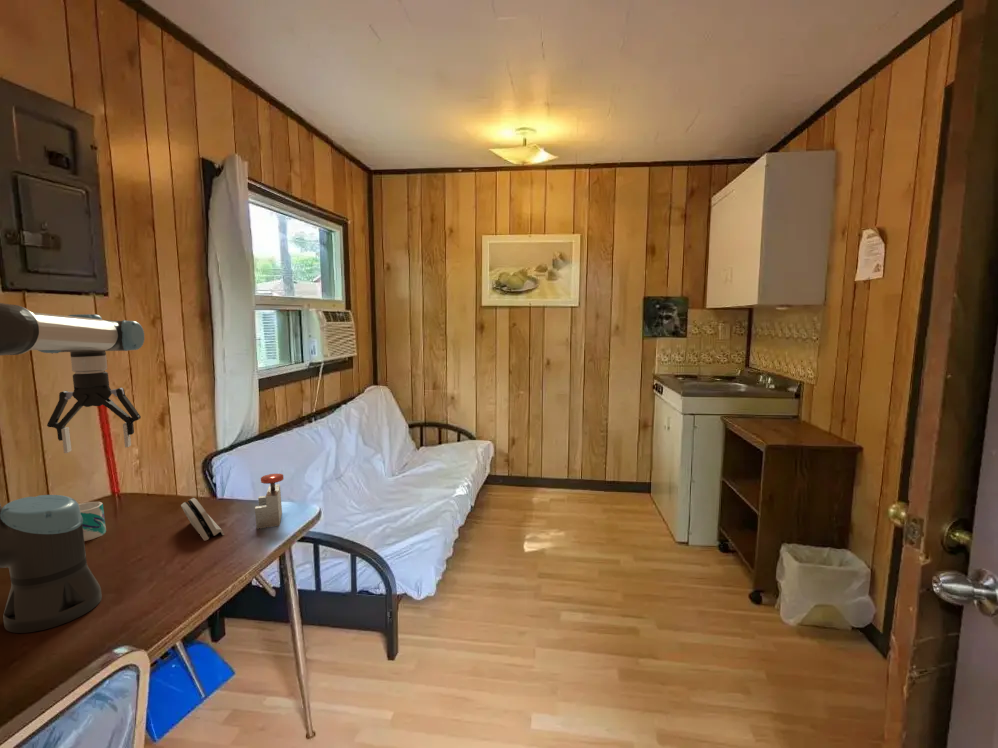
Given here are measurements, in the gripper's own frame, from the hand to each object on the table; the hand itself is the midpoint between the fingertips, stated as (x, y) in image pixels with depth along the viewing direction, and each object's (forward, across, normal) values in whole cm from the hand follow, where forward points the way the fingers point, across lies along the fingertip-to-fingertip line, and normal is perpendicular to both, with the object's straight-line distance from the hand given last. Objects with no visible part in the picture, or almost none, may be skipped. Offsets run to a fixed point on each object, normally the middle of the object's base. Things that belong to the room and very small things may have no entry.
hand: (98, 449), depth 140 cm
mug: (+24, +5, -2) cm, 25 cm away
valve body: (+24, -42, +10) cm, 49 cm away
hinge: (+24, -24, +9) cm, 36 cm away
